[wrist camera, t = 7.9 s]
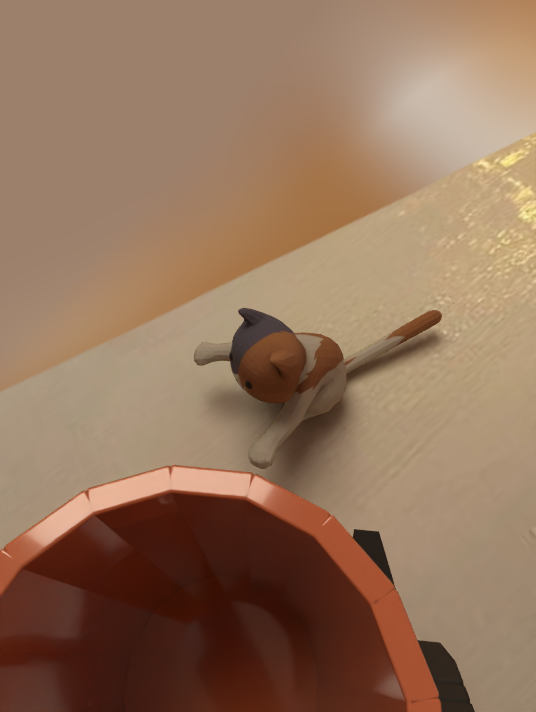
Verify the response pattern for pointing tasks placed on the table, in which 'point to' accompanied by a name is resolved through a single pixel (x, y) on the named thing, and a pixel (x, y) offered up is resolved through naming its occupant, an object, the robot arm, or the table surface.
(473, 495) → the table surface
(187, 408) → the table surface
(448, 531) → the table surface
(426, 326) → the toy
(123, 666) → the cup
